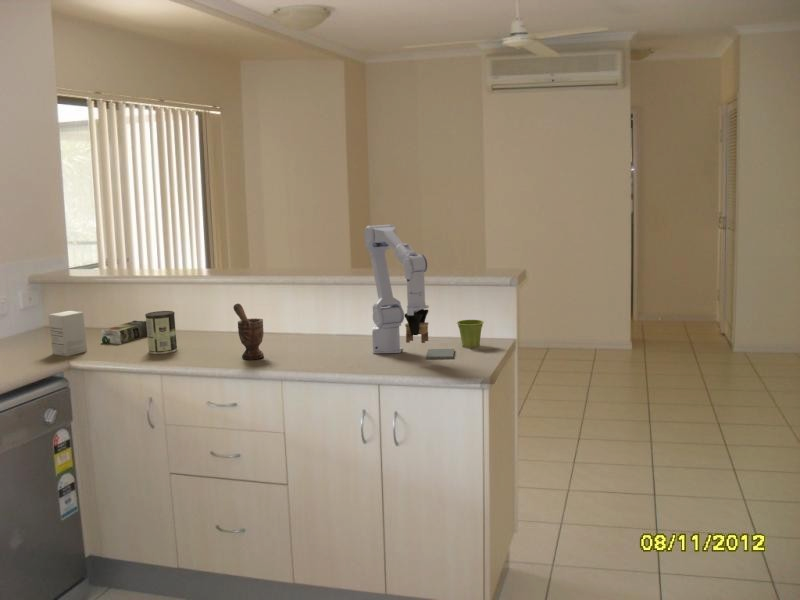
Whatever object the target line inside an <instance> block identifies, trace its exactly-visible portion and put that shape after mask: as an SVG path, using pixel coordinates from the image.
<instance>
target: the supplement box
mask: <svg viewBox="0 0 800 600" xmlns="http://www.w3.org/2000/svg"><path fill="white" fill-rule="evenodd" d="M84 319H85V316H84V312H83V311H75V310H67V311H65V310H64V311H61V312H56V313H50V314H48V323H49V332H50V333H49V334H50V342H51V349H52V351H51V352H52V354H53V355H56V356H61V357H70V356H74V355H78V354H82V353H86V352H88V347H87V337H86V327H85V326H86V325H85V320H84Z"/></svg>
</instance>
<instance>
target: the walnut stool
mask: <svg viewBox="0 0 800 600" xmlns="http://www.w3.org/2000/svg"><path fill="white" fill-rule="evenodd" d="M404 325H405V330H406V331H405V343H407V344H409V343H411V341H412V342H413V341H414V335H411V331H410V327H409V324H408V322H407V323H405V324H404ZM428 326H429V322H428V321H427V322H426V321H425V322H420V325H419V333H418V335H420V336H421V337H420V338H421V340H420V341H421V343H422V344H425V343H426V342H429V331H428V330H429V327H428Z"/></svg>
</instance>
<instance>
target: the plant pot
mask: <svg viewBox="0 0 800 600" xmlns="http://www.w3.org/2000/svg"><path fill="white" fill-rule="evenodd" d="M456 324H457V325H458V326H457V327H458V329H459V333H460V340H461V346H462V347H465V348H471V349H472V348H475V347H480V344H481V334H482V328H483V324H484V320H481V319H462V320H459V321H457V322H456Z"/></svg>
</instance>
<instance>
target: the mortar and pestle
mask: <svg viewBox="0 0 800 600" xmlns="http://www.w3.org/2000/svg"><path fill="white" fill-rule="evenodd" d="M233 310H234V313H235V314H236V315H237V316H238V317H239V319H240V320H238V321H237V330H238V337H239V339H240V342H241V343H240V344H242V345H243V346H244V347H245V350H244V351H243V353H242V354H241V359H244V360H248V361H252V360H253V361H254V360H259V359H263V358H264V356H265V355H264V352H263V351H262V350H260V345H261V344H262V343H263V338H264V319H263V318H257V317H256V318H248V317H247V315H246V312H245V310H244V307H243V306H242V304H240V303H239V302H238V303H235V304H234V305H233Z"/></svg>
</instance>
